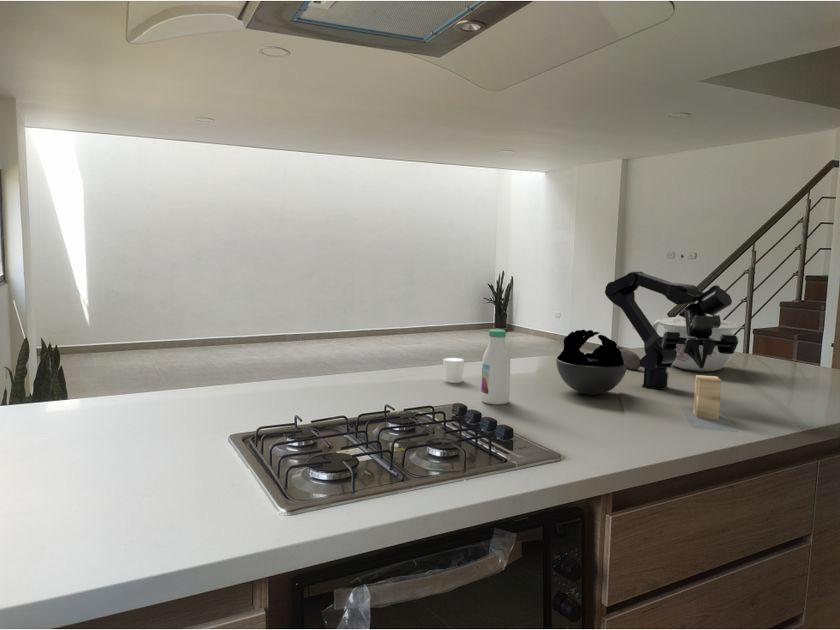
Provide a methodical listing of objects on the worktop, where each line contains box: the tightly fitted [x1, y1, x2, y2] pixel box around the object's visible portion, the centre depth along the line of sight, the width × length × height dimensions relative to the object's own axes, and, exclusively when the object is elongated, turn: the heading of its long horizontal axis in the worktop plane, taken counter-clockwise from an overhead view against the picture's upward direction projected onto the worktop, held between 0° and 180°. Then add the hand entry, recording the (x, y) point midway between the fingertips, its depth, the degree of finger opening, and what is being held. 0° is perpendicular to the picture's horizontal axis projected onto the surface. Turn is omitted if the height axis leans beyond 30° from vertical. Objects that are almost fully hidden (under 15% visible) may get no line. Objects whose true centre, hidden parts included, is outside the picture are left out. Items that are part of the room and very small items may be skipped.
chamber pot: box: [651, 316, 742, 373], centre depth 214 cm, size 28×28×21 cm
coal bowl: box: [555, 329, 628, 396], centre depth 172 cm, size 20×20×19 cm
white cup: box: [442, 357, 465, 384], centre depth 186 cm, size 7×7×7 cm
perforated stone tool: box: [616, 346, 642, 371], centre depth 212 cm, size 15×5×7 cm, turn 24°
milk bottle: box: [480, 328, 511, 406], centre depth 161 cm, size 8×8×20 cm
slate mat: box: [681, 408, 740, 433], centre depth 147 cm, size 17×10×1 cm, turn 165°
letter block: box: [692, 374, 722, 419], centre depth 150 cm, size 5×5×10 cm
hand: (701, 367), depth 159 cm, fingers closed
